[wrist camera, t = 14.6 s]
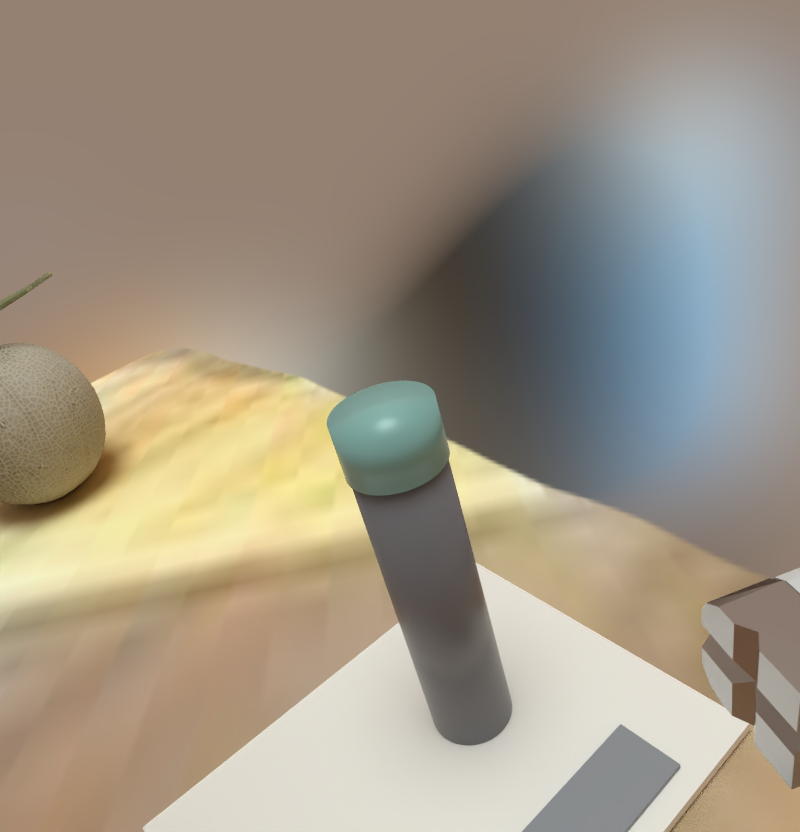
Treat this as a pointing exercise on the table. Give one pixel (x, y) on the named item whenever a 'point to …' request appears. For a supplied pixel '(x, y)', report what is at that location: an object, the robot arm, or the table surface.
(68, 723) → the table surface
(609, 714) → the paper
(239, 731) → the table surface
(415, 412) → the marker
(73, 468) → the fruit
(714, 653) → the robot arm
